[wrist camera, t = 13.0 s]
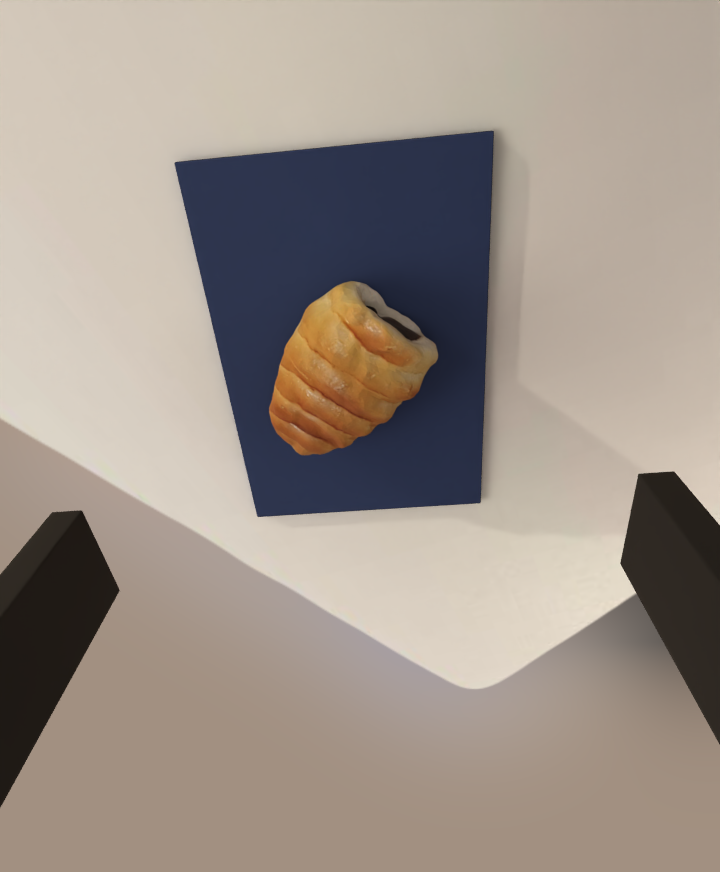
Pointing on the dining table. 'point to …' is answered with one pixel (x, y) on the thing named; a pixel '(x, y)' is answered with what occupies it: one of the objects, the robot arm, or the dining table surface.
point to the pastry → (346, 369)
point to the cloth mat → (361, 262)
